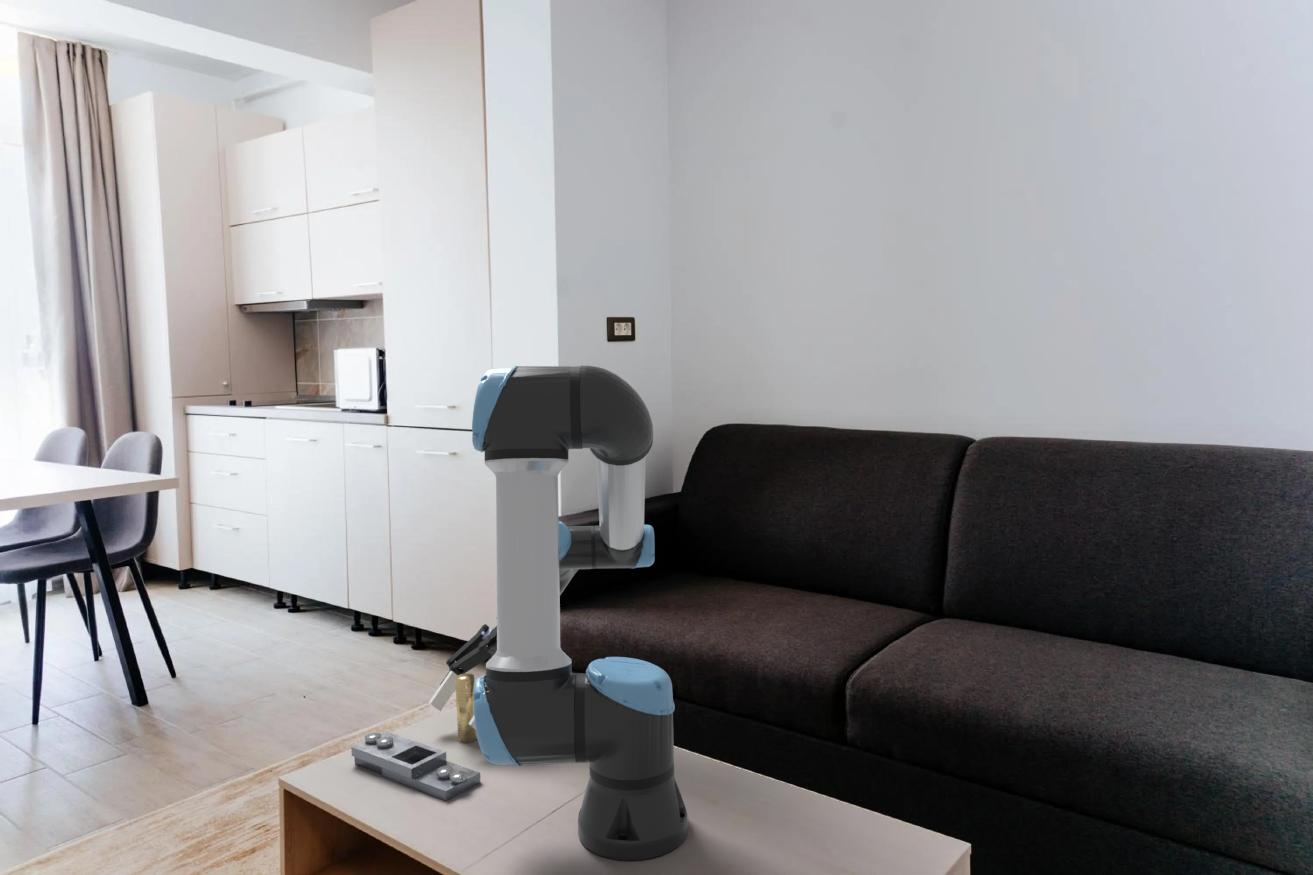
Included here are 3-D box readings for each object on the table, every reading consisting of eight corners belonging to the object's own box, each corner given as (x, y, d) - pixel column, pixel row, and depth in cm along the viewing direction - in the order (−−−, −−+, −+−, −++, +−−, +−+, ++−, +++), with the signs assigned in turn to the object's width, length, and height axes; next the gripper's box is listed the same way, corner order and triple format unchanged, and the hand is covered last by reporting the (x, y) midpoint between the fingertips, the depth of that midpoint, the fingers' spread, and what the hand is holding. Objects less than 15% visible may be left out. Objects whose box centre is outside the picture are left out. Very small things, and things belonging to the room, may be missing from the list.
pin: (479, 739, 151) (477, 677, 150) (462, 744, 150) (459, 681, 149) (472, 732, 154) (469, 671, 153) (455, 737, 152) (452, 676, 151)
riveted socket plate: (481, 782, 136) (481, 758, 135) (447, 801, 130) (446, 776, 130) (386, 748, 148) (385, 726, 148) (350, 764, 143) (349, 741, 142)
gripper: (579, 637, 152) (508, 749, 143) (499, 610, 170) (432, 708, 161) (553, 613, 148) (479, 727, 139) (475, 588, 166) (404, 687, 156)
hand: (453, 717), depth 150 cm, fingers open, 12 cm apart
